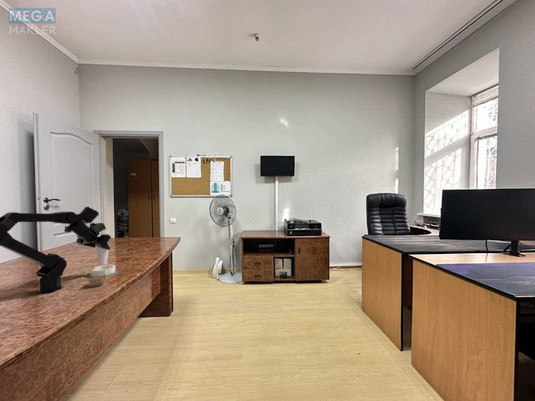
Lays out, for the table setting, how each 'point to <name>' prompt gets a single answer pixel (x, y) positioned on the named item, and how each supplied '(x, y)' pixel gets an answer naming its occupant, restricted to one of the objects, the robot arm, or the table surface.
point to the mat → (106, 275)
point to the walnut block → (97, 281)
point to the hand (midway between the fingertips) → (105, 248)
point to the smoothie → (102, 255)
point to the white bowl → (102, 270)
